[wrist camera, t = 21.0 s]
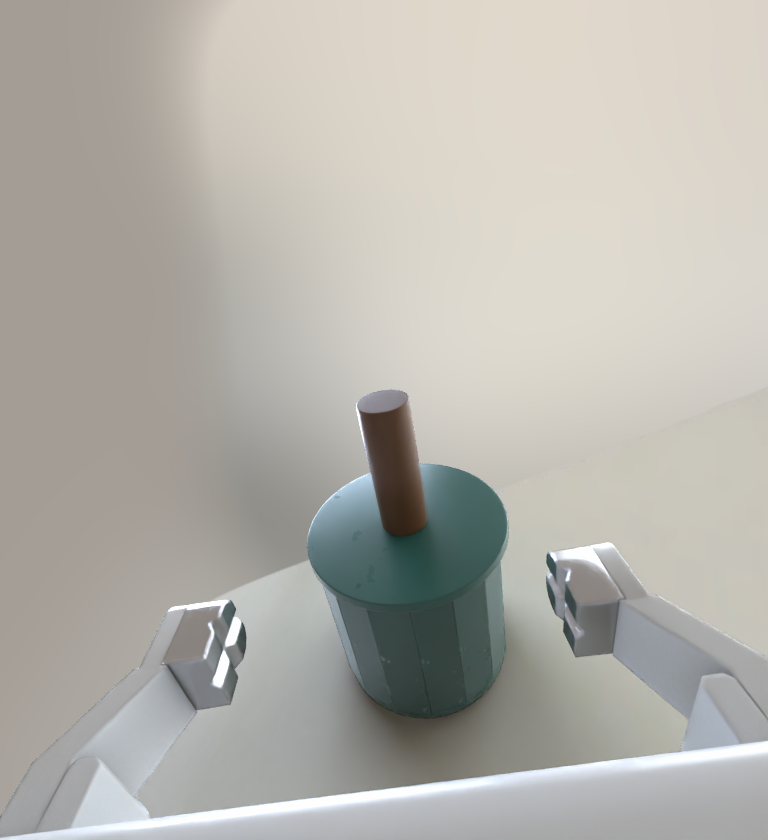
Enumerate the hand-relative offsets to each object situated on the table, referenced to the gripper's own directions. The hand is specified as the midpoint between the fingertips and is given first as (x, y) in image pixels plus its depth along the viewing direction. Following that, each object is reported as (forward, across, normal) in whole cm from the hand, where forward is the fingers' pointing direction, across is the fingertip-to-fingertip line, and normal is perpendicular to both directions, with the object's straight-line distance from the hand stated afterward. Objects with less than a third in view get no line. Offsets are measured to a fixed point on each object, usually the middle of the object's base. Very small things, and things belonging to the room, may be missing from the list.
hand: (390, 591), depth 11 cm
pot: (+11, 0, +17) cm, 21 cm away
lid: (+11, 0, +8) cm, 13 cm away
